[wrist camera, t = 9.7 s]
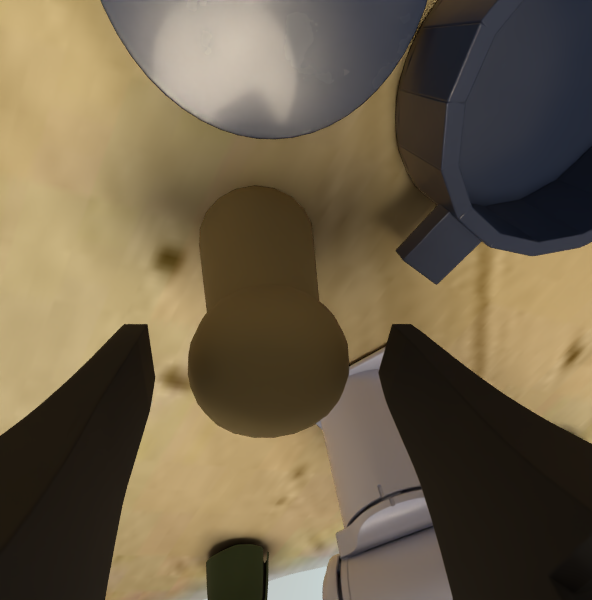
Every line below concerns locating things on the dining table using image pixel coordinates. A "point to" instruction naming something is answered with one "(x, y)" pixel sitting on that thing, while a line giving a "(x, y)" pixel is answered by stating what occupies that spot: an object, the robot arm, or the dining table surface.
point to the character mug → (238, 574)
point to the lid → (266, 57)
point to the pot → (498, 129)
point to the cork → (264, 320)
